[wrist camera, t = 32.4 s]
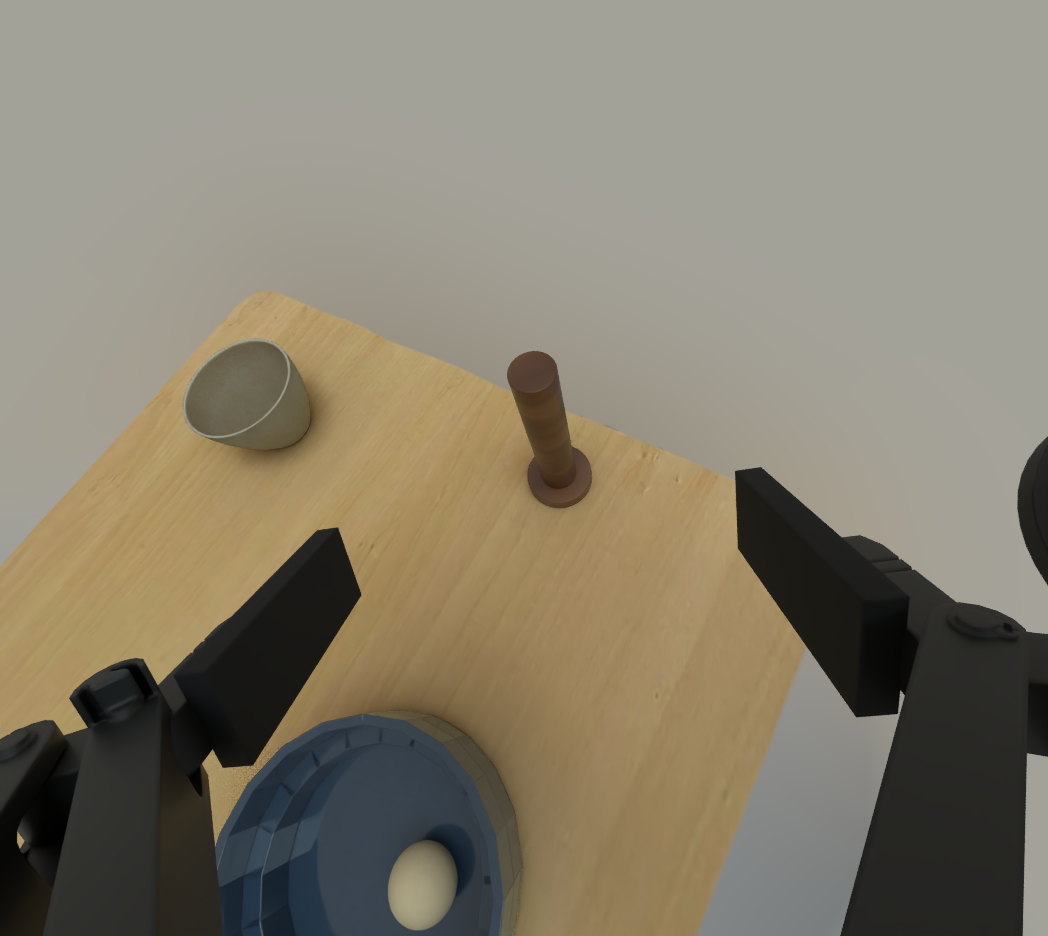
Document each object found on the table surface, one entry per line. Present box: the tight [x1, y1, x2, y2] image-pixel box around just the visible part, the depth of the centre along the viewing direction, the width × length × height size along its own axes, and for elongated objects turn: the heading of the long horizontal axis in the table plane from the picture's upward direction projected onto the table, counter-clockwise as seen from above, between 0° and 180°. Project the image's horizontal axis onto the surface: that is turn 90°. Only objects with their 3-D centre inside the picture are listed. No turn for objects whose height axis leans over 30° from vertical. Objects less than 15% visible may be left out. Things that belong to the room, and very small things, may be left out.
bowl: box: [215, 710, 523, 936], centre depth 28 cm, size 17×17×6 cm
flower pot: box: [183, 339, 310, 450], centre depth 44 cm, size 10×10×7 cm
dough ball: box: [388, 840, 458, 930], centre depth 28 cm, size 4×4×4 cm
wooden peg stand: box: [507, 351, 592, 508], centre depth 33 cm, size 5×5×15 cm
